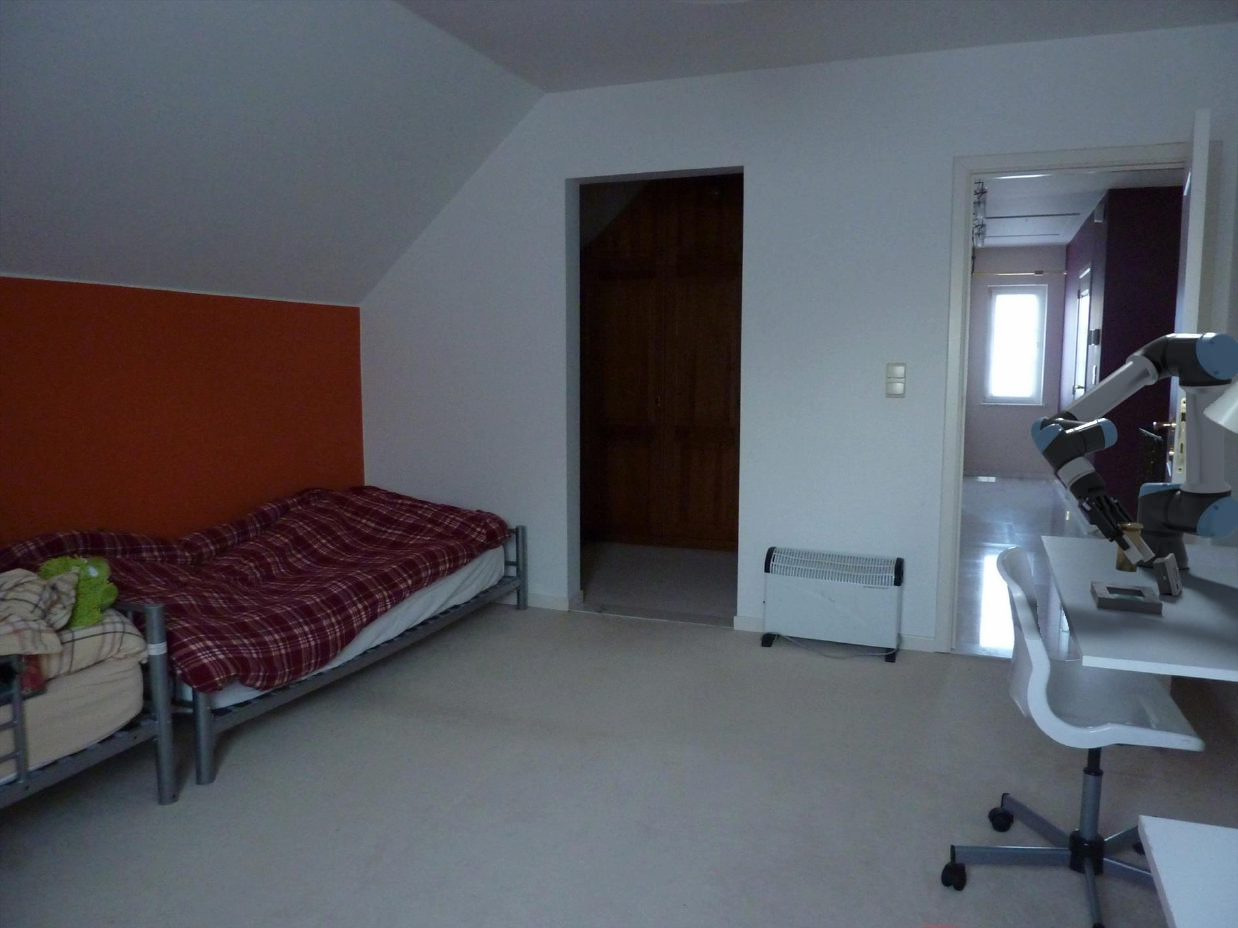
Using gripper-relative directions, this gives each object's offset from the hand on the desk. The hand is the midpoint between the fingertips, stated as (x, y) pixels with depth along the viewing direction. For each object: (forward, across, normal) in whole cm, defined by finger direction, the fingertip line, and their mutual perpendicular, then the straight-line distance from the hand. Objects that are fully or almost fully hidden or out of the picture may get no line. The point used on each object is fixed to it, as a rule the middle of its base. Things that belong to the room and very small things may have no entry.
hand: (1143, 559), depth 213 cm
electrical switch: (+5, -20, -10) cm, 23 cm away
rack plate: (+5, 0, -10) cm, 12 cm away
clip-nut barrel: (0, 0, -5) cm, 5 cm away
